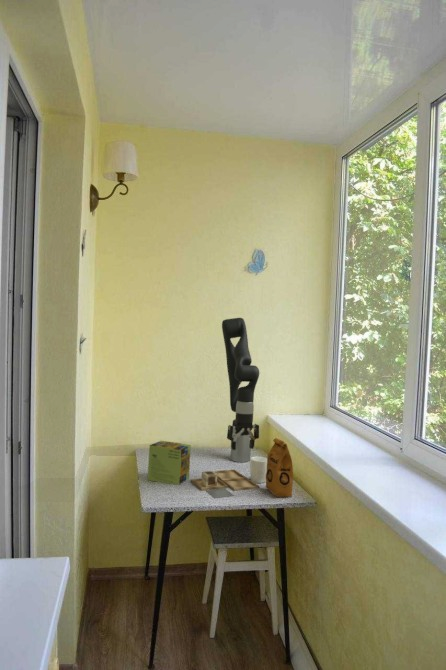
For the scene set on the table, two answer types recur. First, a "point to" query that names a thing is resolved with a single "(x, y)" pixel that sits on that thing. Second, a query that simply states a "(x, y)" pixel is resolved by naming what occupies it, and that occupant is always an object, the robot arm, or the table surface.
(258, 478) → the white cup
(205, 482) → the letter cube
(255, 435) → the robot arm
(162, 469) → the protein box
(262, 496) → the table surface
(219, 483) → the tray
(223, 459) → the table surface
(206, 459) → the table surface
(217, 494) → the slate tile
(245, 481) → the tray
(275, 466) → the coffee package
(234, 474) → the tray
